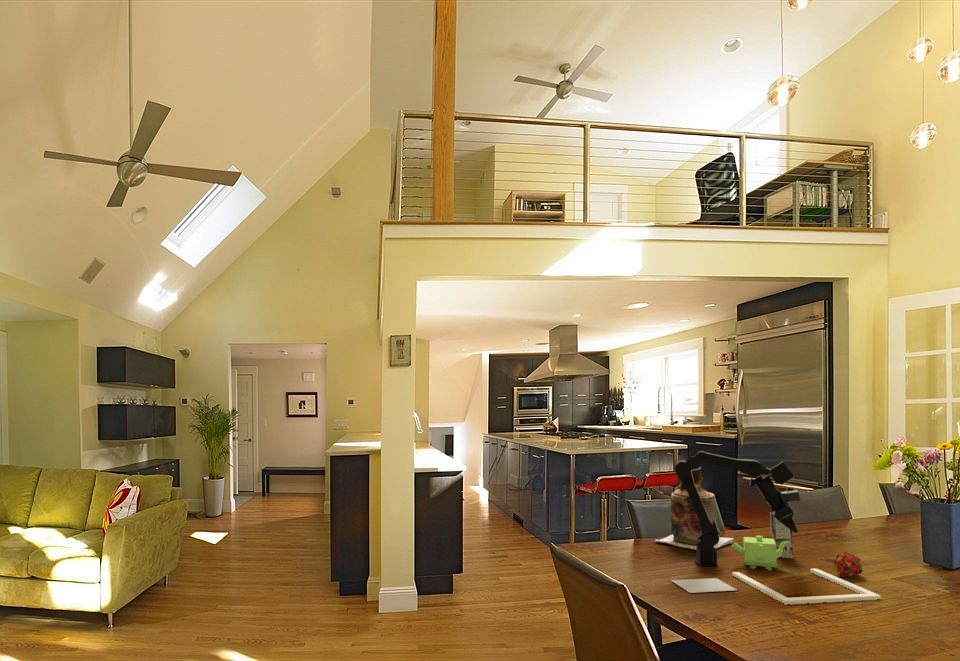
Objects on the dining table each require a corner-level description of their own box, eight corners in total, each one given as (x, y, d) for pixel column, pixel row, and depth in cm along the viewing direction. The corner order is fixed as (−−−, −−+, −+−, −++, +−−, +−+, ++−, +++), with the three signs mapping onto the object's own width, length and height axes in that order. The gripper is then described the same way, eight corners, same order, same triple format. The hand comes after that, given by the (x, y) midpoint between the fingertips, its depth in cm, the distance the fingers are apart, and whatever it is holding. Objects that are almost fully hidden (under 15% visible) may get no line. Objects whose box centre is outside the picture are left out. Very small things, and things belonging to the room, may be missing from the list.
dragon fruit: (851, 576, 240) (850, 589, 229) (829, 559, 243) (827, 572, 233) (867, 559, 237) (866, 572, 227) (844, 543, 240) (842, 555, 230)
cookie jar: (683, 534, 300) (681, 462, 303) (735, 543, 282) (733, 467, 285) (652, 543, 284) (651, 467, 286) (706, 553, 266) (703, 472, 268)
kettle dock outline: (785, 604, 204) (785, 600, 204) (732, 575, 235) (732, 572, 235) (880, 599, 209) (880, 595, 209) (816, 571, 240) (816, 568, 240)
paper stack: (754, 601, 208) (754, 599, 208) (679, 606, 204) (679, 603, 204) (716, 579, 231) (716, 577, 231) (647, 583, 227) (647, 581, 227)
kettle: (791, 569, 243) (790, 538, 244) (764, 574, 236) (763, 542, 237) (757, 559, 256) (755, 530, 257) (730, 564, 249) (729, 534, 250)
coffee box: (793, 558, 258) (792, 516, 259) (776, 557, 259) (774, 515, 260) (787, 552, 267) (786, 511, 268) (770, 551, 268) (769, 511, 269)
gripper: (792, 484, 234) (819, 524, 231) (786, 476, 252) (812, 514, 248) (763, 499, 237) (790, 539, 233) (760, 491, 255) (784, 528, 251)
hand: (795, 529), depth 241 cm, fingers open, 9 cm apart
